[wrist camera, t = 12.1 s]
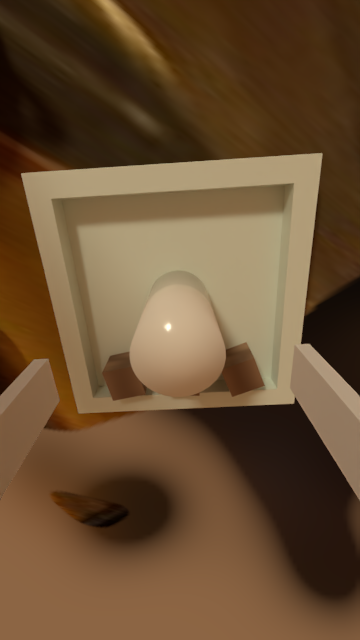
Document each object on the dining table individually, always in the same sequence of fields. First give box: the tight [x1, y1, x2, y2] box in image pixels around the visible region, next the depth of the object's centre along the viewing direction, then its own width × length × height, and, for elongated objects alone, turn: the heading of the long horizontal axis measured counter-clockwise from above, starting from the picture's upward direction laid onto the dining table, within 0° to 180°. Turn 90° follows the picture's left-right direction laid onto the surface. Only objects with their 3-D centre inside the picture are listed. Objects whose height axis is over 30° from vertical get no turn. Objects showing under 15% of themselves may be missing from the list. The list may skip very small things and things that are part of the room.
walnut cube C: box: [221, 342, 265, 397], centre depth 29 cm, size 4×4×4 cm
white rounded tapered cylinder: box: [129, 270, 226, 397], centre depth 23 cm, size 6×6×12 cm
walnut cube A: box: [102, 352, 147, 401], centre depth 30 cm, size 4×4×4 cm
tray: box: [21, 153, 322, 414], centre depth 28 cm, size 24×24×3 cm
